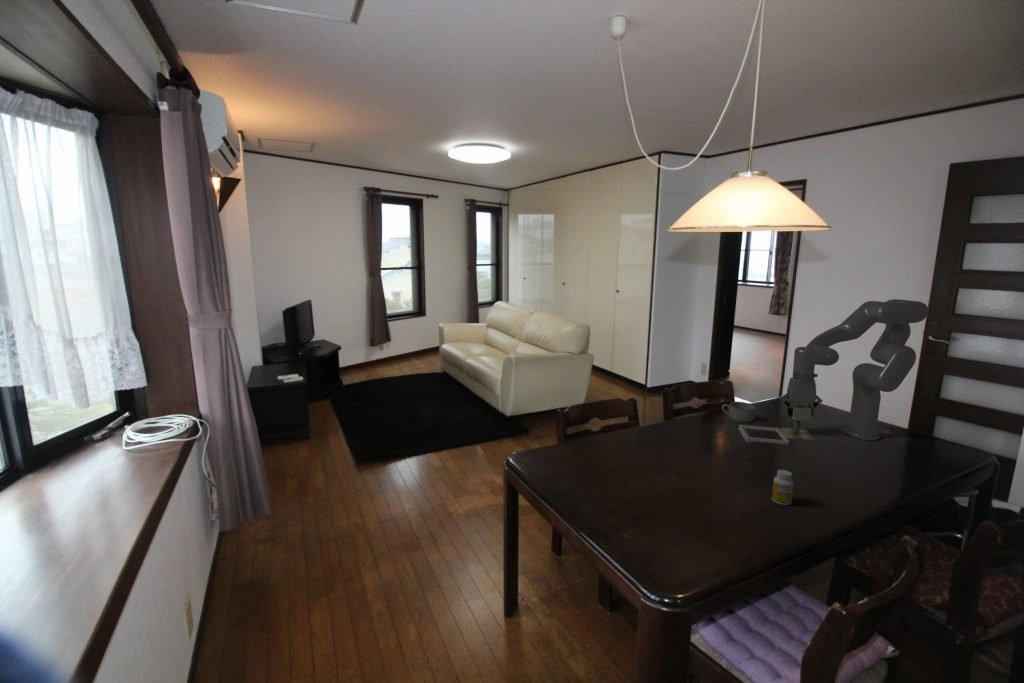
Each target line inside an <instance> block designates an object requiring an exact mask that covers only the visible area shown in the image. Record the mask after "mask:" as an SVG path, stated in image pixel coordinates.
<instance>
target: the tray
mask: <svg viewBox="0 0 1024 683" xmlns="http://www.w3.org/2000/svg"><path fill="white" fill-rule="evenodd" d="M778 428H779V427H778ZM778 428H777V427H771V426H770V427H769V426H760V425H759V426H758V425H748V424H747V425H746V424H745V425H744V424H738V431H739V433H740V435H741V436H742V437H743V439H744V440H745V442H746V443H747V444H755V442H758V443H769V444H770V443H771V444H781V445H790V440H789V438H786V437H785V436H784V435H783V433H782V432H781V431H780V430H779V429H778ZM746 429H747V430H757V431H758V430H760V431H770V432H776V433H777V434H778V436H779V437H781V439H773V438H762V437H752V436H750V434H749V432H748V431H747V430H746Z"/></svg>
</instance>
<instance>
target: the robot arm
mask: <svg viewBox="0 0 1024 683" xmlns="http://www.w3.org/2000/svg"><path fill="white" fill-rule="evenodd" d="M929 311H930V309H929V307H928V305H927V304H926V303H924V302H921V301H918V300H909V299H907V300H906V299H899V298H898V299H888V300H886V301H878V300H877V301H876V300H868V301H866V302H864V303H862V304H861V305H860V306H859V307H858V308H857V309H856V310H854V311H853V312H852V313H851V314H849V316H848V317H847V318H845V319H844V320H843V321H842V322H841V323H840V324H838V325H836V326H833V327H831V328H830V329H827V330H825V331H823V332H821V333H819V334H817V335H816V336H815V337H814V338H813V339H812V340H810V341H809V343H808V344H807V345H806V346H798V347H796V348H794V352H793V353H794V355H793V366H792V377H790V378H789V381H788V383H787V390H786V393H785V394H783V395H782V396H781V397H780V398H779V399H780V401H782V403H783V404H784V405H786V406H787V411H786V412H787V415H788V417H790V418H791V417H792V416H793V408H792V407H793V405H794V404H799V403H801V404H807V406H808V407H809V408H810V409H812V413H811V417H814V416H813V415H814V410H815V408H816V407H818V406H819V405H820V404H821V403H822V402H823V399H821V397H820V396H819V395H817V383H816V380H815V378H818V376H819V375H818V373H815V367H816V366H817V365H819V366H826V367H827V366H832V365H833V366H834V365H835V364H836V363H838V361H839V360H840V355H839V353H838V351H837V350H836V349H834V348H831V347H832V346H834V345H835V344H839V343H843V342H849V341H854V340H857V339H859V338H861V336H863V335H864V334H865V333H866V332H867V331H868V330H870V328H872V327H873V326H874V325H875V324H876V323H877V324H885V328H884V330H883V332H882V333H881V335H880V337H878V340H877V341H876V342H875V344H874V345H873V347H872V349H871V350H870V353H869V354H870V355H869V357H870V359H871V360H872V361H874V362H876V363H878V364H881V365H884V366H881V365H877V364H873V363H869V362H867V363H866V362H863V363H860V364H857V365H856V366H855V367H854V368H853V370H852V374H851V376H852V385H853V386H852V396H851V403H850V409H849V410H850V411H849V419H848V426H847V427H845V428H843V431H842V433H844V434H845V435H847V437H851V438H854V439H859V440H864V441H877V440H880V439H881V434H884V435H889V434H890V432H891V431H890V430H889V429H886V428H885V429H884V428H883V427H878V426H877V425H878V418H879V413H880V406H881V401H882V400H881V398H882V397H881V392H884V393H891V392H894V391H895V390H897V389H898V388H899V387H900V385H901V384H902V383H903V381H904V380H905V379H906V377H907V376H908V375H909V373H910V371H911V370H912V369H913V367H914V365H915V363H916V360H917V353H916V351H915V349H913V348H912V347H911V346H909V345H906V343H908V340H909V339H910V337H911V332H912V331H911V326H910V324H918V323H920V322H922V321H924V320H925V319H926V318H927V317H928V316H929ZM786 399H787V400H788V401H787V400H786Z"/></svg>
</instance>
